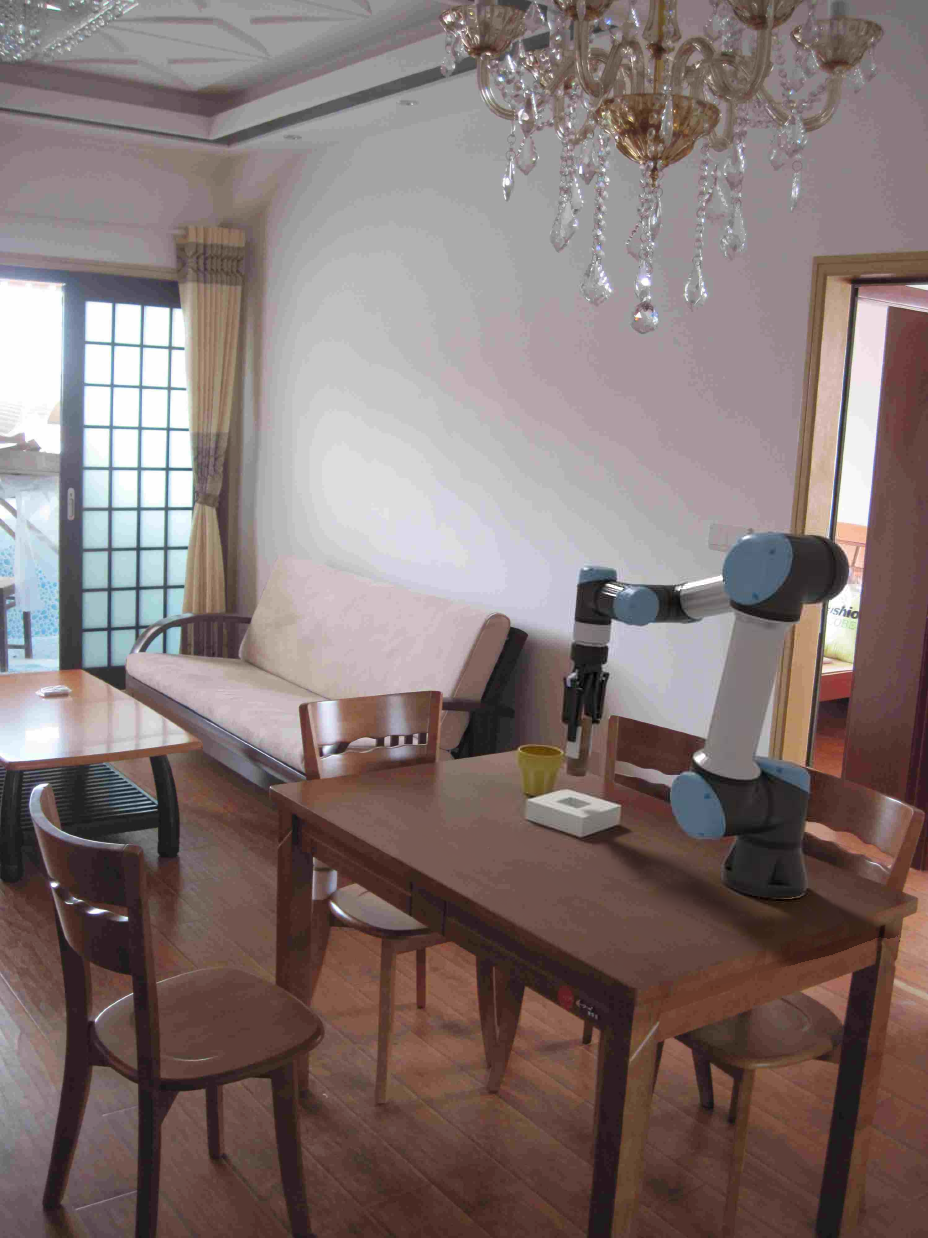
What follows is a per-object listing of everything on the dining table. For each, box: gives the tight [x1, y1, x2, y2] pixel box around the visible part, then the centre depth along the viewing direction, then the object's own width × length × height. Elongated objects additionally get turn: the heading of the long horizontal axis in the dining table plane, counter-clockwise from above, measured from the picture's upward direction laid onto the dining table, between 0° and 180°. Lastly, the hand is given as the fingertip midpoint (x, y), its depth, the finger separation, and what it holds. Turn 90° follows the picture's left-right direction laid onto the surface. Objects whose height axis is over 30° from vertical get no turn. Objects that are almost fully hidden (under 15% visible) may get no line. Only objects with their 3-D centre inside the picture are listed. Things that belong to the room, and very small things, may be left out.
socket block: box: [524, 788, 622, 838], centre depth 237 cm, size 14×14×4 cm
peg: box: [565, 714, 592, 778], centre depth 235 cm, size 4×4×12 cm
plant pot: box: [516, 744, 565, 797], centre depth 255 cm, size 10×10×10 cm
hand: (578, 755), depth 235 cm, fingers closed on peg, 4 cm apart
